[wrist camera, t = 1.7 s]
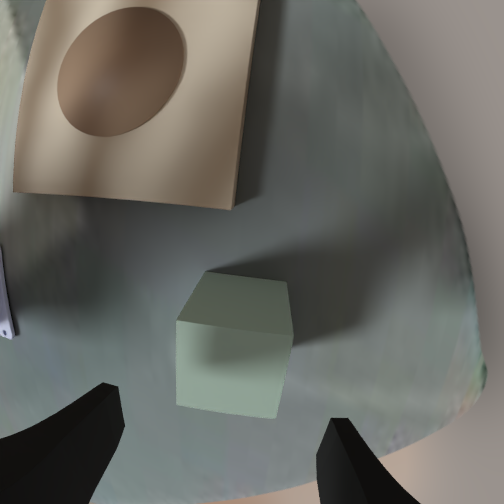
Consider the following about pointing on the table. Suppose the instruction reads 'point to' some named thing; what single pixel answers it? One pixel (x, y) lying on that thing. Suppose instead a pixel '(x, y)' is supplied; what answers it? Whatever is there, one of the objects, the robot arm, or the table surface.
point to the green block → (234, 345)
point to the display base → (137, 100)
